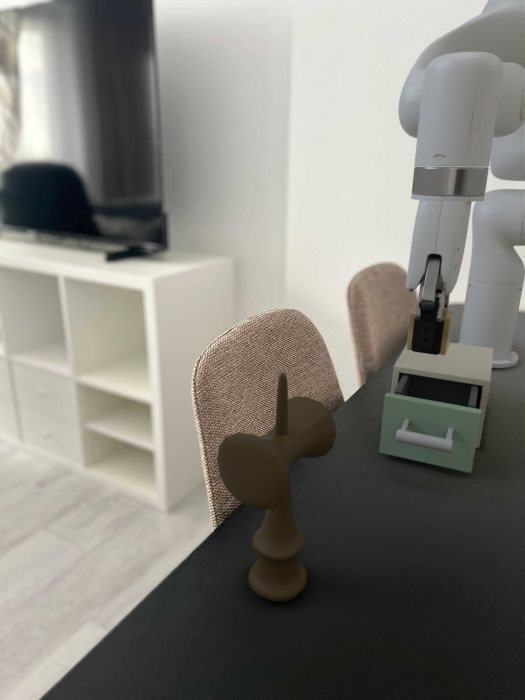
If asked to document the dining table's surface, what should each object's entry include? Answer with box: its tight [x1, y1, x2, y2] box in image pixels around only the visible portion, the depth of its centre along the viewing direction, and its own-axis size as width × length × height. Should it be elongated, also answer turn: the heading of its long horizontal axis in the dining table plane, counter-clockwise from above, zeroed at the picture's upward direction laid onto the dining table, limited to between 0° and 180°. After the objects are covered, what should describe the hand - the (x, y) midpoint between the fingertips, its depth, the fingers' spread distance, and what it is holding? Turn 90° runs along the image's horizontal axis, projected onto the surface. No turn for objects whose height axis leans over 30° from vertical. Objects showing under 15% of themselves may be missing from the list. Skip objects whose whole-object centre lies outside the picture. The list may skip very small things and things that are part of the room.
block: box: [406, 305, 455, 355], centre depth 61 cm, size 4×4×4 cm
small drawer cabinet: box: [390, 342, 493, 449], centre depth 74 cm, size 14×12×10 cm
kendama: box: [216, 372, 337, 603], centre depth 42 cm, size 6×10×20 cm, turn 146°
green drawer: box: [378, 373, 482, 474], centre depth 65 cm, size 18×11×8 cm, turn 156°
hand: (428, 344), depth 61 cm, fingers closed on block, 4 cm apart
